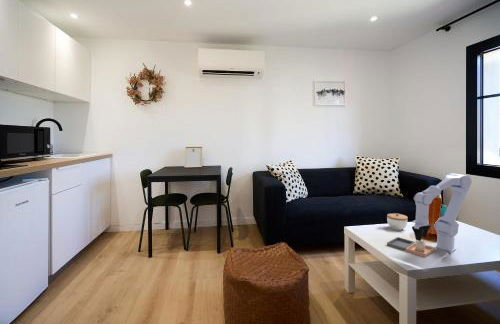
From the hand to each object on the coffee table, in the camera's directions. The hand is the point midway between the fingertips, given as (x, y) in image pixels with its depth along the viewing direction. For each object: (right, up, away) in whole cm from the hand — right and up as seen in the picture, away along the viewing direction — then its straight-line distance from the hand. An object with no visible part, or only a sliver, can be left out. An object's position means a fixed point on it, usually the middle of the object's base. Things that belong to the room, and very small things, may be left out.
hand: (421, 238), depth 139 cm
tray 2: (0, -8, +1) cm, 8 cm away
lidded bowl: (+9, -5, +38) cm, 40 cm away
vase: (+33, -6, +29) cm, 44 cm away
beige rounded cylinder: (0, -7, +1) cm, 7 cm away
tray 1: (-6, -7, +9) cm, 13 cm away
